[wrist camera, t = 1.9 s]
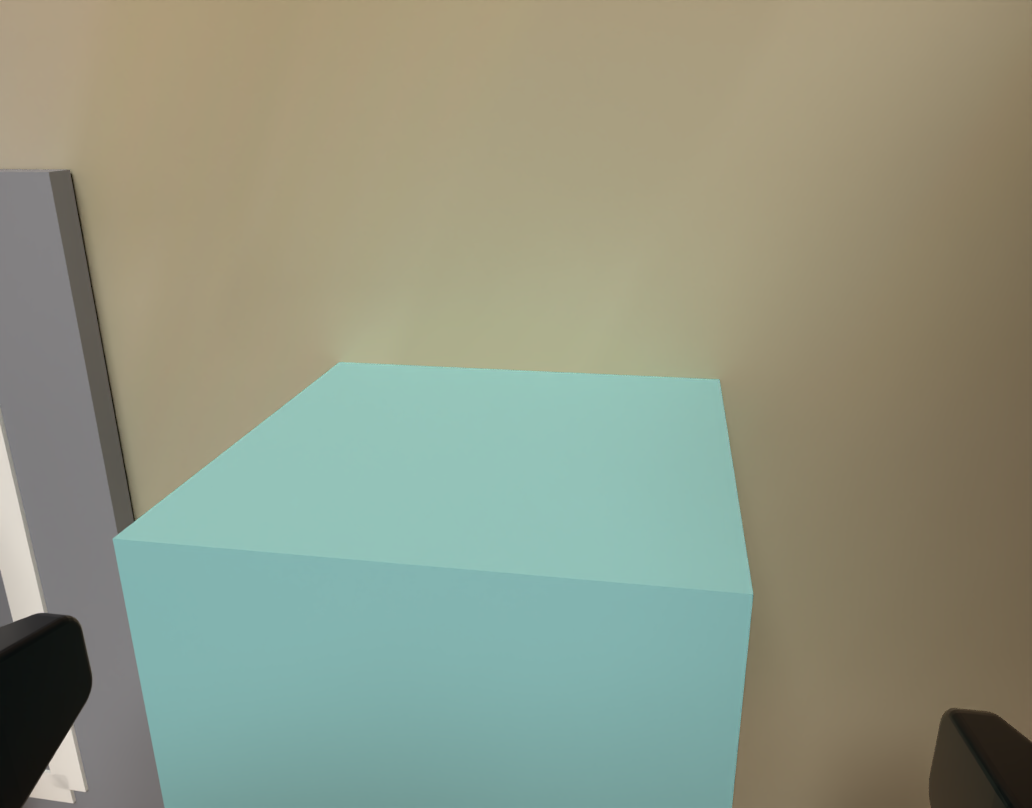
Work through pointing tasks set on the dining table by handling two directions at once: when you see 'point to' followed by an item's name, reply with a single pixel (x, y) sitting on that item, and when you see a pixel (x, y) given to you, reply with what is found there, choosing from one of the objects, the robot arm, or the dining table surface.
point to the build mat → (66, 490)
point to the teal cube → (450, 598)
